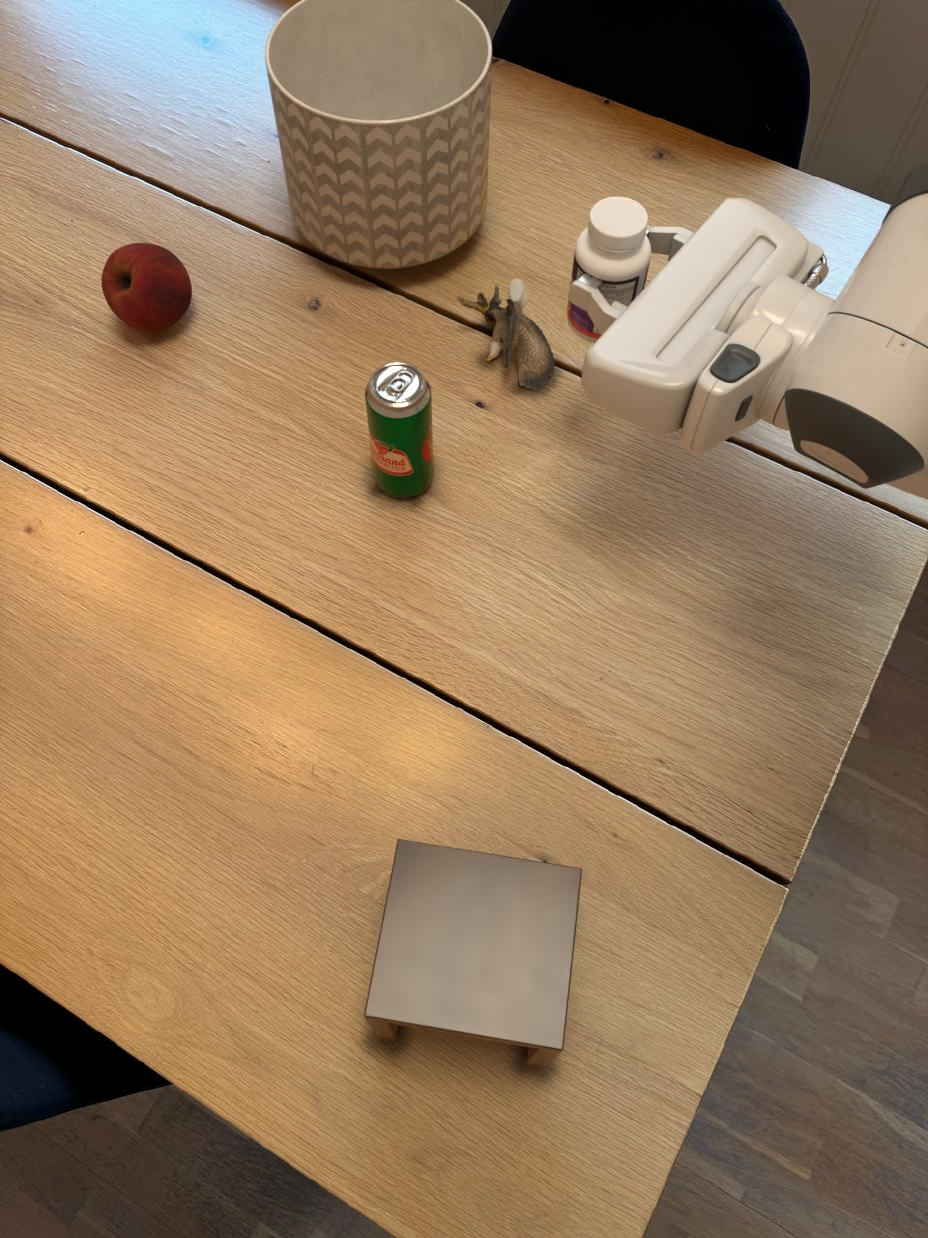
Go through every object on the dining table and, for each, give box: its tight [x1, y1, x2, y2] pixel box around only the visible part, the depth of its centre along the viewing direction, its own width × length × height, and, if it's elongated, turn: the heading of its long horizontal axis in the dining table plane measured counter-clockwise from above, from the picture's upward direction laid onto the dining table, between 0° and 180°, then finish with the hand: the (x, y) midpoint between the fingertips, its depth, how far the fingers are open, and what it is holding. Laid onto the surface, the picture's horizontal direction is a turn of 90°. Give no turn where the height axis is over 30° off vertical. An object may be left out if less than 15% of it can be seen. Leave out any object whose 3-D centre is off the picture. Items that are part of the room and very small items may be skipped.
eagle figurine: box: [456, 278, 555, 391], centre depth 91 cm, size 8×7×9 cm
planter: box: [264, 0, 493, 270], centre depth 93 cm, size 19×19×18 cm
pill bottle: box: [566, 196, 652, 344], centre depth 73 cm, size 5×5×10 cm
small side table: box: [363, 838, 583, 1067], centre depth 63 cm, size 11×10×12 cm
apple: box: [101, 242, 193, 333], centre depth 91 cm, size 7×8×8 cm
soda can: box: [364, 361, 435, 499], centre depth 82 cm, size 5×5×12 cm
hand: (599, 258), depth 73 cm, fingers closed on pill bottle, 5 cm apart
